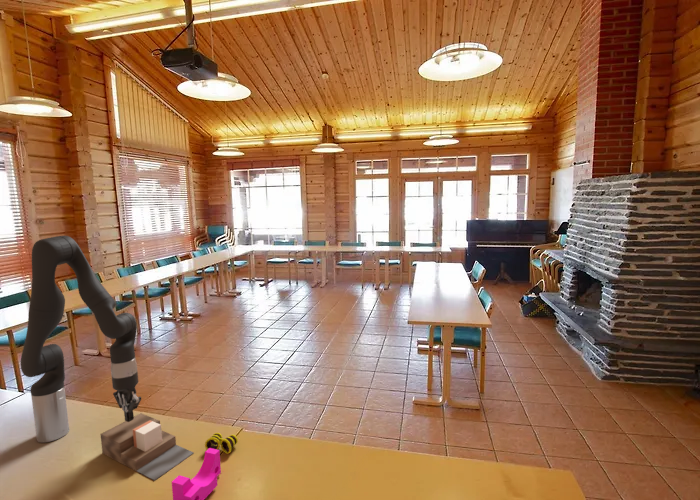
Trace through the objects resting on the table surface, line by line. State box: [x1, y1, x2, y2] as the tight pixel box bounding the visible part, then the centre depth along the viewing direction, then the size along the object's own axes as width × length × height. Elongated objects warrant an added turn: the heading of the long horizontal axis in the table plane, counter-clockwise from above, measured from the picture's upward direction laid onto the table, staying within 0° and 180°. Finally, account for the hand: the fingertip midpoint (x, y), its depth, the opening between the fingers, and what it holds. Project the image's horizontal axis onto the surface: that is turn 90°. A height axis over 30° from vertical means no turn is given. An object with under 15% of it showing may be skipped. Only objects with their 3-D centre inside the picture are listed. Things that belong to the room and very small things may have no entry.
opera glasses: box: [204, 432, 239, 455], centre depth 124 cm, size 10×5×5 cm, turn 78°
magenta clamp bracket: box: [171, 448, 222, 500], centre depth 106 cm, size 15×6×8 cm, turn 161°
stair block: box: [100, 412, 195, 482], centre depth 122 cm, size 28×14×7 cm, turn 62°
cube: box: [133, 420, 163, 452], centre depth 122 cm, size 6×6×6 cm
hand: (129, 420), depth 126 cm, fingers closed
